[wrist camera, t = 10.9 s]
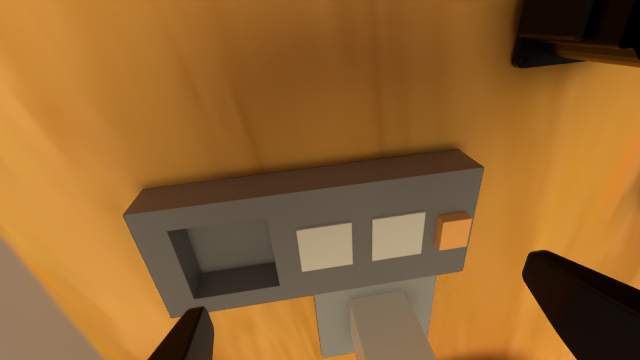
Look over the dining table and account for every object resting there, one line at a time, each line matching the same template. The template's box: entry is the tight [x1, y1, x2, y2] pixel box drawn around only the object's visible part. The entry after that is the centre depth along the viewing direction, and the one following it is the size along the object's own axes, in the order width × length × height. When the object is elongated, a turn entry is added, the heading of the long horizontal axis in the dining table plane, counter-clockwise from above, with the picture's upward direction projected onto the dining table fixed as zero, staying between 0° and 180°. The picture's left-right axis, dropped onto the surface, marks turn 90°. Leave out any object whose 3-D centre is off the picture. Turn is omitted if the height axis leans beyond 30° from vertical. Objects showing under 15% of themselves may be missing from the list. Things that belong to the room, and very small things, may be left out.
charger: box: [349, 290, 437, 360], centre depth 25 cm, size 5×5×7 cm
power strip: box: [122, 149, 484, 318], centre depth 21 cm, size 22×9×4 cm, turn 94°
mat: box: [314, 275, 436, 358], centre depth 28 cm, size 11×11×1 cm
